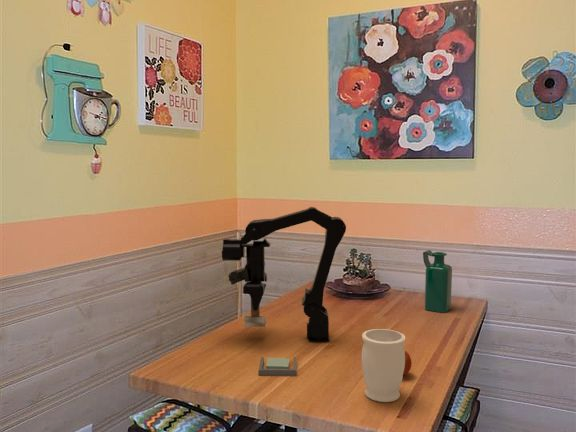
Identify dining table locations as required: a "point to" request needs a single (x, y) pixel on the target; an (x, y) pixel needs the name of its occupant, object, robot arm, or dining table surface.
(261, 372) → the frame
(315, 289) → the robot arm
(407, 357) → the fruit
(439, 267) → the pitcher
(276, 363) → the tile
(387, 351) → the jar
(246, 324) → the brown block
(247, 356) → the dining table surface
